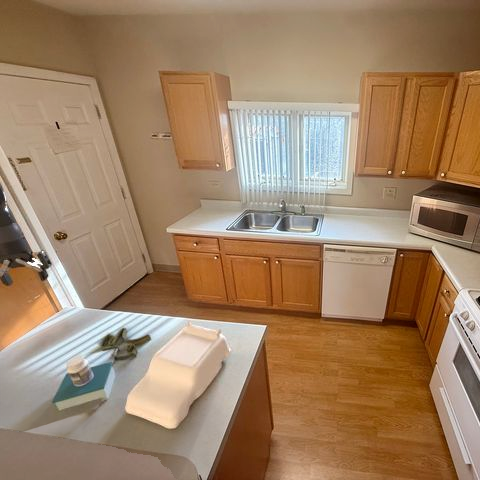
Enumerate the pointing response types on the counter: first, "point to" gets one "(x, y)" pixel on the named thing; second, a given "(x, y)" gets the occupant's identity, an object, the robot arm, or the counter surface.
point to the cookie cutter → (129, 348)
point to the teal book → (86, 388)
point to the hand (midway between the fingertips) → (27, 282)
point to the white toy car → (178, 375)
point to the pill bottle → (79, 370)
